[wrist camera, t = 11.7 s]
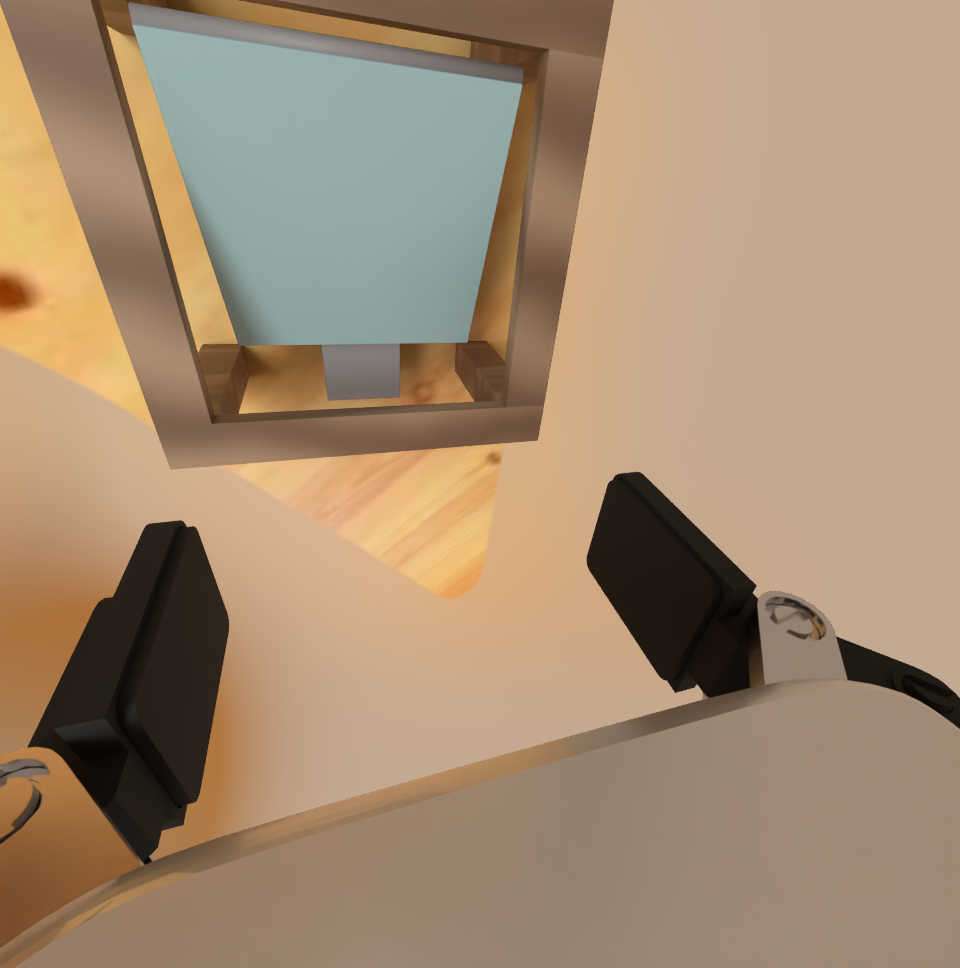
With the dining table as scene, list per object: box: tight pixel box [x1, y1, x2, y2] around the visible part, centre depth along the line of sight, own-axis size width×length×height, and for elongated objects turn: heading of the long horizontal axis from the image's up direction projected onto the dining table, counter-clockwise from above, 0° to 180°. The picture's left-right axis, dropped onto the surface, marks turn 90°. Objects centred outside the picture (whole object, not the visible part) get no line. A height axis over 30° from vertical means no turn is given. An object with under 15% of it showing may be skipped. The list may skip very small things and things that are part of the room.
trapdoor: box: [128, 2, 523, 346], centre depth 23 cm, size 14×14×1 cm
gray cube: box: [321, 344, 400, 400], centre depth 33 cm, size 5×5×5 cm
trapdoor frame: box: [0, 0, 614, 469], centre depth 26 cm, size 21×21×12 cm
